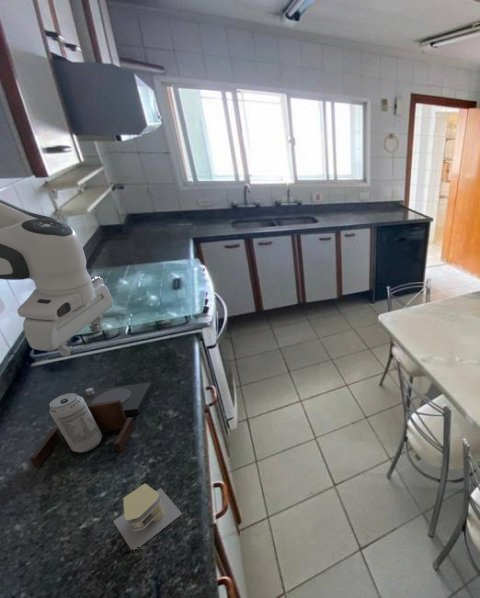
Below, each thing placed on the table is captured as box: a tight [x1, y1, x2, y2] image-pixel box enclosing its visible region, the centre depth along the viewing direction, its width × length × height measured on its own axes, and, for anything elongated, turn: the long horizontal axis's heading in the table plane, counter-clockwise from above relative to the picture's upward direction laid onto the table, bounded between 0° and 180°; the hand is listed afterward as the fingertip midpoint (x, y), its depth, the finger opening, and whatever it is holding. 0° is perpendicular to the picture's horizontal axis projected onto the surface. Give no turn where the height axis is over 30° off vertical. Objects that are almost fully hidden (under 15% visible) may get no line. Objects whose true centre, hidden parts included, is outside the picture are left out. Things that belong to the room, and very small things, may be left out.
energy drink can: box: [48, 392, 103, 453], centre depth 81 cm, size 6×6×15 cm
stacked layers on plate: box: [112, 483, 183, 551], centre depth 68 cm, size 10×9×6 cm
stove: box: [82, 381, 153, 417], centre depth 96 cm, size 16×12×4 cm
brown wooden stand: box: [29, 400, 136, 468], centre depth 82 cm, size 17×10×9 cm, turn 109°
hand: (82, 341), depth 80 cm, fingers open, 8 cm apart
